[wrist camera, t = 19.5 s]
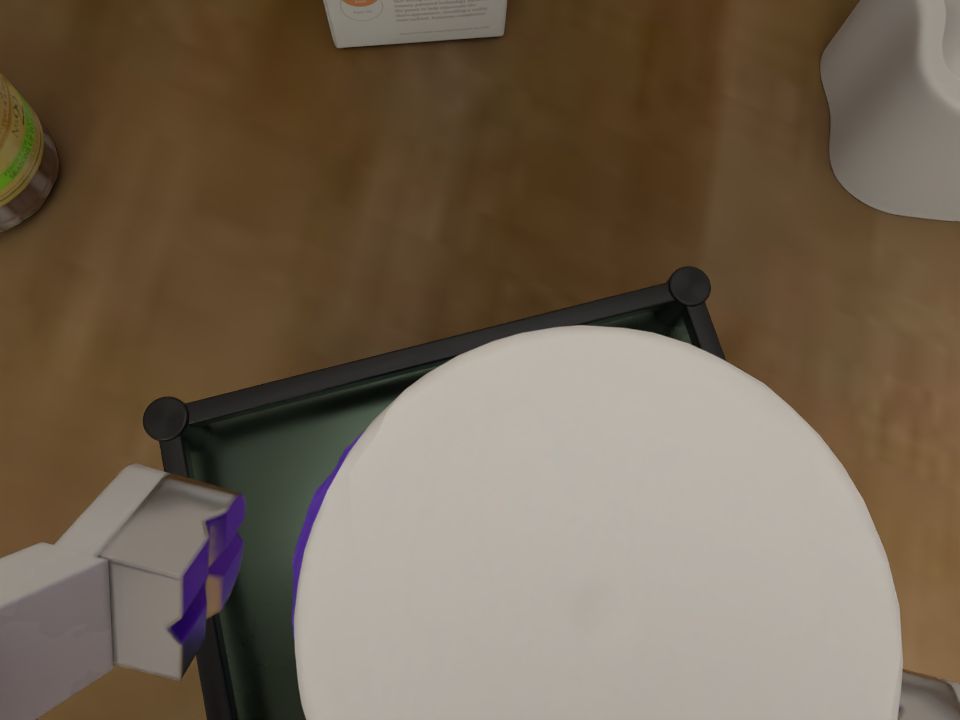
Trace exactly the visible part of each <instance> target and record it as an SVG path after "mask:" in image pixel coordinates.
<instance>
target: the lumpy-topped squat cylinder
mask: <svg viewBox="0 0 960 720" xmlns="http://www.w3.org/2000/svg"><path fill="white" fill-rule="evenodd" d="M820 73H821V79H822V83H823V87H824V90H825V94H826V97H827V100H828V104H829V109H830V119H831V127H830V141H829V155H830V162H831V166H832V169H833V172H834V174H835V176H836V178H837V179H838V181H839V182H840V184H841V185H842V186H843V187H844V188H845V189H846V190H847V191H848V192H849V193H850V194H852V195H853V196H854V197H855V198H857V199H858V200H860V201H861V202H863V203H865V204H867V205H868V206H870V207H873V208H875V209H878V210H880V211H883V212H887V213H891V214H896V215H901V216H909V217H918V218H926V219H934V220H945V221H960V0H860V1H859V3H858V4H857V6H856V7H855V8H854V10H853V11H852V12H851V14H850V15H849V17H848V18H847V19H846V21H845V22H844V24H843V25H842V26H841V28H840V29H839V31H838V32H837V33H836V35H835V36H834V37H833V39H832V40H831V42H830V43H829V44H828V46H827V47H826V49H825V50H824V52H823V54H822V57H821V62H820Z"/></svg>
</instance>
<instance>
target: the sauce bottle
mask: <svg viewBox="0 0 960 720" xmlns="http://www.w3.org/2000/svg"><path fill="white" fill-rule="evenodd" d="M58 172H59V159H58V155H57V152H56V148H55V146H54V143H53V141H52V138H51V136H50V134H49V132H48V130H47V128H46V127H45V126H44V125H43V124H42V123H41V122H40V121H39V119H38V116H37V115H36V113H35V112H34V110H33V109H32V108H31V106H30V105H29V104H28V103H27V102H26V101H25V99H24V98H23V97H22V96H21V95H20V94H19V93H18V91H17V90H16V89H15V88H14V87H13V86H12V84H11V83H10V82H9V81H8V80H7V79H6V78H5V77H4V75H3V74H2V73H1V72H0V232H1V231H6V230H8V229H10V228H12V227H14V226H16V225H19V224H20V223H21V222H22V221H23V220H25V219H26V218H28V217H30V216H31V215H32V214H34V213H35V212H36V211H38V210H39V209H40V207H41V206H42V204H43V203H44V201H45V200H46V198H47V196H48V195H49V193H50V191H51V189H52V187H53V185H54V183H55V181H56V179H57V177H58Z"/></svg>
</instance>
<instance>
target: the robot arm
mask: <svg viewBox="0 0 960 720" xmlns="http://www.w3.org/2000/svg"><path fill="white" fill-rule="evenodd" d="M245 517H246V497H245V496H244V495H243V494H242V493H239V492H235V491H232V490H228V489H225V488H222V487H218V486H215V485H211V484H208V483H205V482H201V481H198V480H194V479H191V478H188V477H184V476H181V475H177V474H174V473H167V472H164V471H160V470H157V469H154V468H151V467H147V466H144V465H141V464H137V463H134V464H132V465H130V466H127V467H125V468H124V469H123V470H122V471H121V472H120V473H119V474H118V475H117V476H116V477H115V478H114V479H113V481H112V482H111V483H110V484H109V485H108V486H107V487H106V488H105V489H104V490H103V491H102V493H101V494H100V495H99V496H98V497H97V498H96V499H95V500H94V501H93V502H92V503H91V504H90V506H89V507H88V508H87V509H86V510H85V511H84V512H83V513H82V514H81V515H80V516H79V518H78V519H77V520H76V521H75V522H74V523H73V524H72V525H71V526H70V527H69V528H68V529H67V531H66V532H65V533H64V534H63V535H62V536H61V537H60V538H59V539H58V540H57V541H56V543H55V544H54V545H52V544H48V543H44V542H41V543H38V544H36V545H33V546H30V547H28V548H25V549H23V550H20V551H18V552H15V553H13V554H10V555H7V556H5V557H2V558H0V720H36V719H37V718H39V717H40V716H42V715H43V714H45V713H46V712H48V711H49V710H51V709H53V708H54V707H56V706H57V705H59V704H60V703H62V702H63V701H65V700H66V699H68V698H69V697H71V696H73V695H74V694H76V693H77V692H79V691H80V690H82V689H83V688H85V687H86V686H88V685H89V684H91V683H92V682H94V681H96V680H97V679H99V678H100V677H102V676H103V675H105V674H106V673H108V672H109V671H111V670H112V669H113V665H116V666H121V667H125V668H129V669H133V670H137V671H141V672H145V673H149V674H153V675H157V676H161V677H166V678H170V679H174V680H178V681H181V679H182V677H183V676H184V674H185V672H186V670H187V669H188V667H189V665H190V664H191V662H192V660H193V659H194V657H195V655H196V653H197V652H198V650H199V648H200V647H201V645H202V643H203V642H204V640H205V634H206V619H207V618H209V617H211V616H213V615H215V614H217V613H219V612H221V610H222V609H223V607H224V605H225V603H226V601H227V600H228V598H229V596H230V594H231V592H232V589H233V587H234V584H235V582H236V579H237V576H238V574H239V570H240V566H241V561H242V557H243V547H244V541H243V540H242V538H241V537H240V535H239V534H238V532H237V530H238V528H239V527H240V525H241V524H242V522H243V520H244V519H245ZM897 720H960V683H956V682H953V681H949V680H945V679H938V678H936V677H932V676H928V675H924V674H920V673H916V672H913V671H909V670H905V669H903V670H902V685H901V696H900V703H899V711H898V719H897Z"/></svg>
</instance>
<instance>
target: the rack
mask: <svg viewBox="0 0 960 720" xmlns="http://www.w3.org/2000/svg"><path fill="white" fill-rule="evenodd" d="M710 291H711V285H710V281H709V279H708V277H707V275H706V274H705V273H704V272H703V271H701V270H700V269H698V268H695V267H689V266H687V267H682V268H679V269H677V270H676V271H675V272H674V273H673V274H672V275H671V276H670V278H669V279H668V280H667V282H666V283H663V284H659V285H655V286H651V287H647V288H643V289H639V290H635V291H631V292H627V293H623V294H619V295H615V296H611V297H607V298H603V299H599V300H595V301H591V302H587V303H583V304H579V305H576V306H572V307H568V308H564V309H560V310H556V311H552V312H548V313H544V314H540V315H536V316H532V317H528V318H524V319H520V320H516V321H512V322H508V323H504V324H500V325H496V326H492V327H488V328H484V329H480V330H476V331H472V332H468V333H464V334H460V335H456V336H452V337H448V338H444V339H440V340H436V341H432V342H428V343H424V344H420V345H416V346H412V347H408V348H404V349H400V350H396V351H392V352H389V353H385V354H381V355H377V356H373V357H369V358H365V359H361V360H357V361H353V362H349V363H345V364H341V365H337V366H333V367H329V368H325V369H321V370H317V371H313V372H309V373H305V374H301V375H297V376H293V377H289V378H285V379H281V380H277V381H273V382H269V383H265V384H261V385H257V386H253V387H249V388H245V389H241V390H237V391H233V392H229V393H225V394H221V395H217V396H213V397H209V398H205V399H201V400H198V401H194V402H190V403H184V402H182V401H181V400H179V399H177V398H175V397H162V398H159V399H157V400H155V401H153V402H152V403H151V404H150V405H149V406H148V407H147V409H146V411H145V413H144V416H143V426H144V429H145V431H146V433H147V434H148V435H149V436H150V437H152V438H153V439H155V440H157V441H159V443H160V449H161V455H162V461H163V466H164V472H167V473H174V474H177V475H181V476H184V477H188V478H191V479H194V480H198V481H201V482H205V483H208V484H211V485H215V486H218V487H222V488H225V489H228V490H232V491H235V492H239V493H242V494H243V495H244V496H245V497H246V517H245V519H244V520H243V522H242V524H241V525H240V527H239V528H238V530H237V532H238V534H239V535H240V537H241V538H242V540H243V541H244V547H243V557H242V561H241V566H240V570H239V574H238V576H237V579H236V582H235V584H234V587H233V589H232V592H231V594H230V596H229V598H228V600H227V601H226V603H225V605H224V607H223V609H222V610H221V612H219V613H217V614H215V615H213V616H211V617H209V618H207V619H206V634H205V640H204V642H203V643H202V645H201V647H200V648H199V650H198V652H197V653H196V658H197V663H198V669H199V675H200V681H201V687H202V692H203V698H204V704H205V710H206V715H207V720H306V717H305V714H304V711H303V707H302V704H301V698H300V692H299V685H298V677H297V667H296V657H295V641H294V637H293V626H292V607H293V580H294V575H293V566H292V561H293V556H294V552H295V548H296V544H297V541H298V538H299V536H300V533H301V530H302V527H303V524H304V521H305V518H306V515H307V511H308V508H309V506H310V504H311V501H312V498H313V495H314V492H315V491H316V490H317V489H318V488H319V487H320V486H321V485H322V484H323V483H324V481H325V480H326V479H327V478H328V477H329V476H330V475H331V474H332V472H333V471H334V469H335V468H336V466H337V465H338V462H339V459H340V457H341V456H342V455H343V452H344V450H345V449H346V448H348V447H349V446H350V445H351V444H352V443H353V442H354V440H355V439H356V438H357V437H358V436H360V435H361V434H362V433H363V432H364V431H365V430H366V429H367V428H368V426H369V425H370V424H371V422H372V421H373V420H374V419H375V418H376V417H377V416H378V415H379V414H380V413H381V412H382V411H384V410H385V409H386V408H387V407H388V406H389V405H390V404H391V403H392V402H393V401H394V400H395V399H396V398H397V397H398V396H399V395H400V394H401V393H402V392H403V391H404V390H405V389H407V388H408V387H409V386H411V385H412V384H413V383H415V382H416V381H417V380H419V379H420V378H422V377H423V376H424V375H426V374H427V373H429V372H430V371H432V370H434V369H436V368H437V367H439V366H441V365H443V364H444V363H446V362H448V361H449V360H451V359H453V358H455V357H456V356H458V355H460V354H463V353H465V352H468V351H470V350H473V349H475V348H477V347H480V346H482V345H485V344H487V343H490V342H492V341H495V340H499V339H502V338H506V337H509V336H513V335H516V334H520V333H524V332H530V331H536V330H542V329H548V328H554V327H564V326H577V325H585V326H603V327H618V328H628V329H635V330H641V331H647V332H653V333H656V334H659V335H663V336H666V337H669V338H672V339H676V340H679V341H682V342H686V343H689V344H691V345H693V346H695V347H697V348H700V349H702V350H704V351H706V352H708V353H710V354H713V355H715V356H717V357H719V358H721V359H723V360H725V361H726V359H725V357H724V354H723V351H722V348H721V346H720V343H719V340H718V337H717V334H716V332H715V329H714V326H713V323H712V321H711V318H710V315H709V312H708V310H707V307H706V304H705V301H706V300H707V298H708V297H709V295H710Z"/></svg>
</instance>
